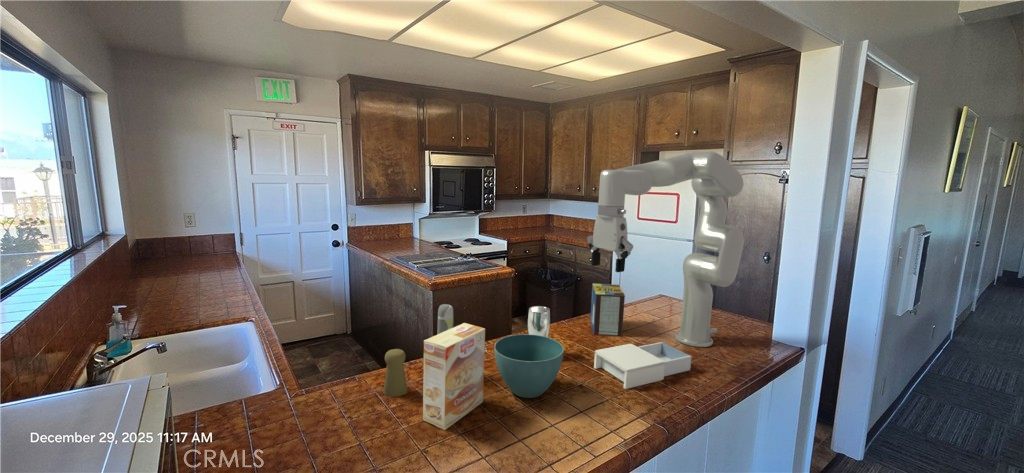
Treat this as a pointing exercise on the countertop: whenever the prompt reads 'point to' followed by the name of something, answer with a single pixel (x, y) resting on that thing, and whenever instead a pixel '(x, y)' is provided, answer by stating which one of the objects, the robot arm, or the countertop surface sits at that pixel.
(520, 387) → the teal bowl
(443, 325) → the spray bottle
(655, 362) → the sleeve
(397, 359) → the olive green pepper shaker
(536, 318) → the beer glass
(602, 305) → the protein box
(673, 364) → the white sliding drawer box
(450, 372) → the coffeecake box
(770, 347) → the countertop surface
